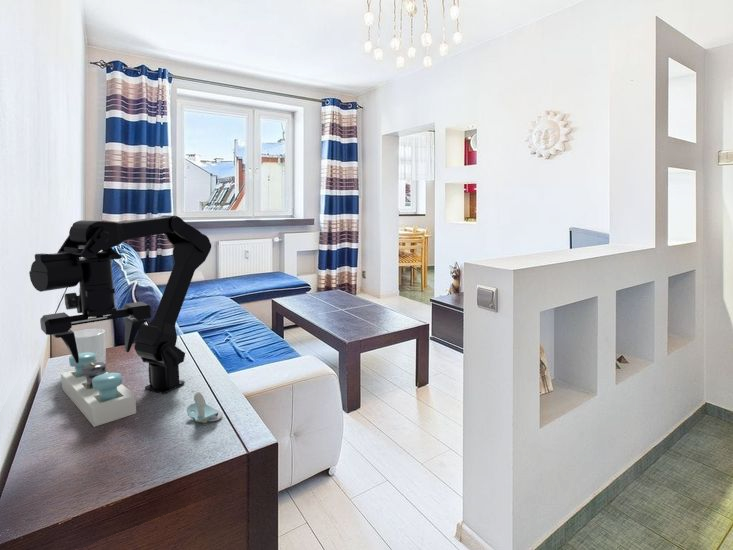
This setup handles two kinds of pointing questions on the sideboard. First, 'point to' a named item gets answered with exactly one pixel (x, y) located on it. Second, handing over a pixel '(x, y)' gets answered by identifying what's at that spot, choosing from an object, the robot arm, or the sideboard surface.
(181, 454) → the sideboard surface
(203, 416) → the pacifier
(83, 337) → the white cup
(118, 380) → the near knob
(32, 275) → the robot arm
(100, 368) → the pot dial
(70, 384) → the knob housing
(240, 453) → the sideboard surface
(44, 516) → the sideboard surface
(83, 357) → the far knob
